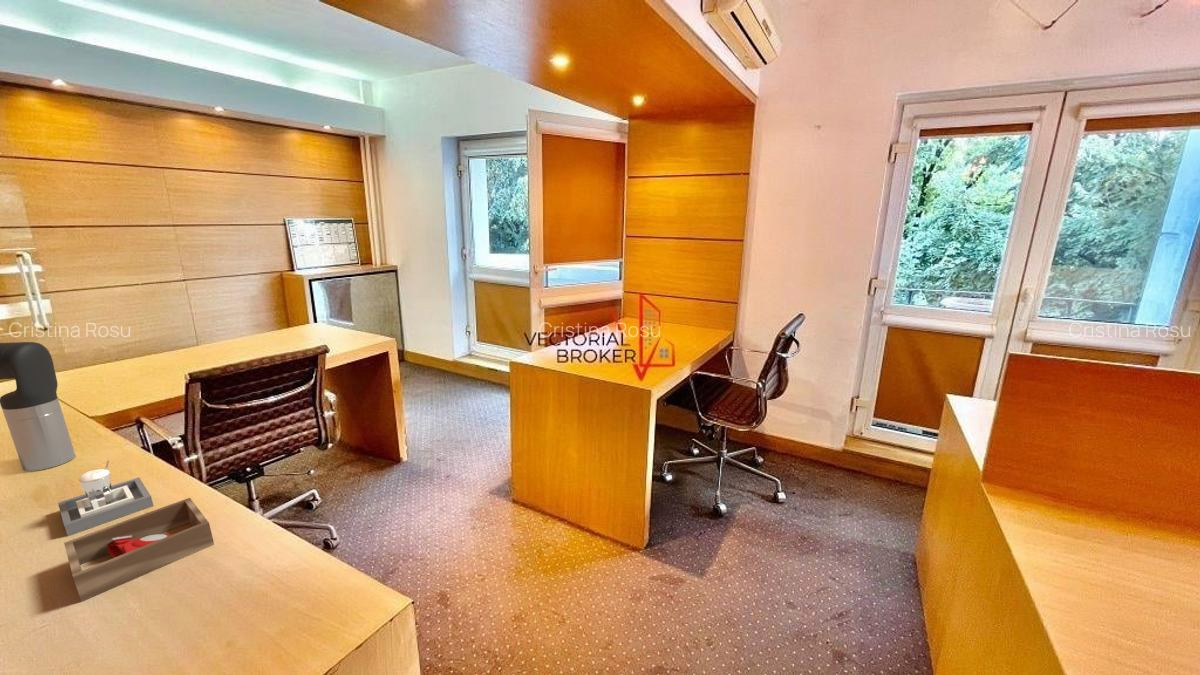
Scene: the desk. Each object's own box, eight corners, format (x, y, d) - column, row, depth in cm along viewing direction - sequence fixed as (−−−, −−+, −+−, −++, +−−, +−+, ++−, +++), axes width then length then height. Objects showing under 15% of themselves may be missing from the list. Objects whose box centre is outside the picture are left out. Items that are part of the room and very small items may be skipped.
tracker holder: (189, 527, 95) (168, 545, 86) (185, 549, 94) (164, 570, 85) (110, 530, 89) (79, 550, 80) (106, 553, 89) (75, 576, 80)
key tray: (71, 565, 86) (63, 542, 84) (194, 517, 100) (189, 497, 98) (81, 601, 78) (73, 577, 76) (214, 544, 91) (209, 522, 90)
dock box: (60, 512, 101) (57, 502, 101) (141, 486, 111) (139, 477, 111) (67, 536, 94) (64, 525, 93) (153, 505, 104) (150, 496, 103)
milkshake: (128, 500, 105) (117, 461, 102) (101, 514, 99) (88, 474, 97) (110, 499, 105) (99, 460, 103) (82, 513, 100) (70, 472, 97)
